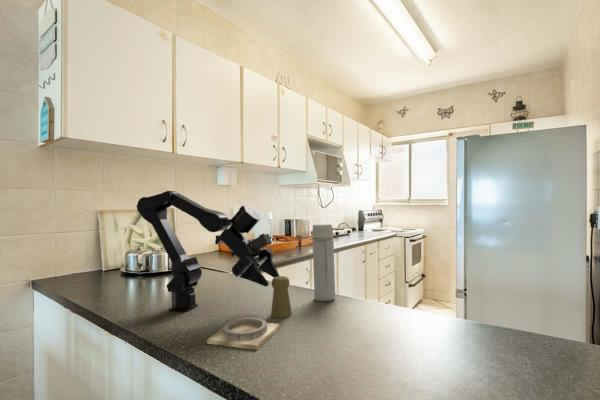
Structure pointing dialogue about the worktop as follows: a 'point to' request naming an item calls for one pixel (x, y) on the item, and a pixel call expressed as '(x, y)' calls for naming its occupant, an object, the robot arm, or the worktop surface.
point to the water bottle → (323, 262)
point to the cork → (280, 298)
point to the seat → (244, 333)
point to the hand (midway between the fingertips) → (273, 281)
